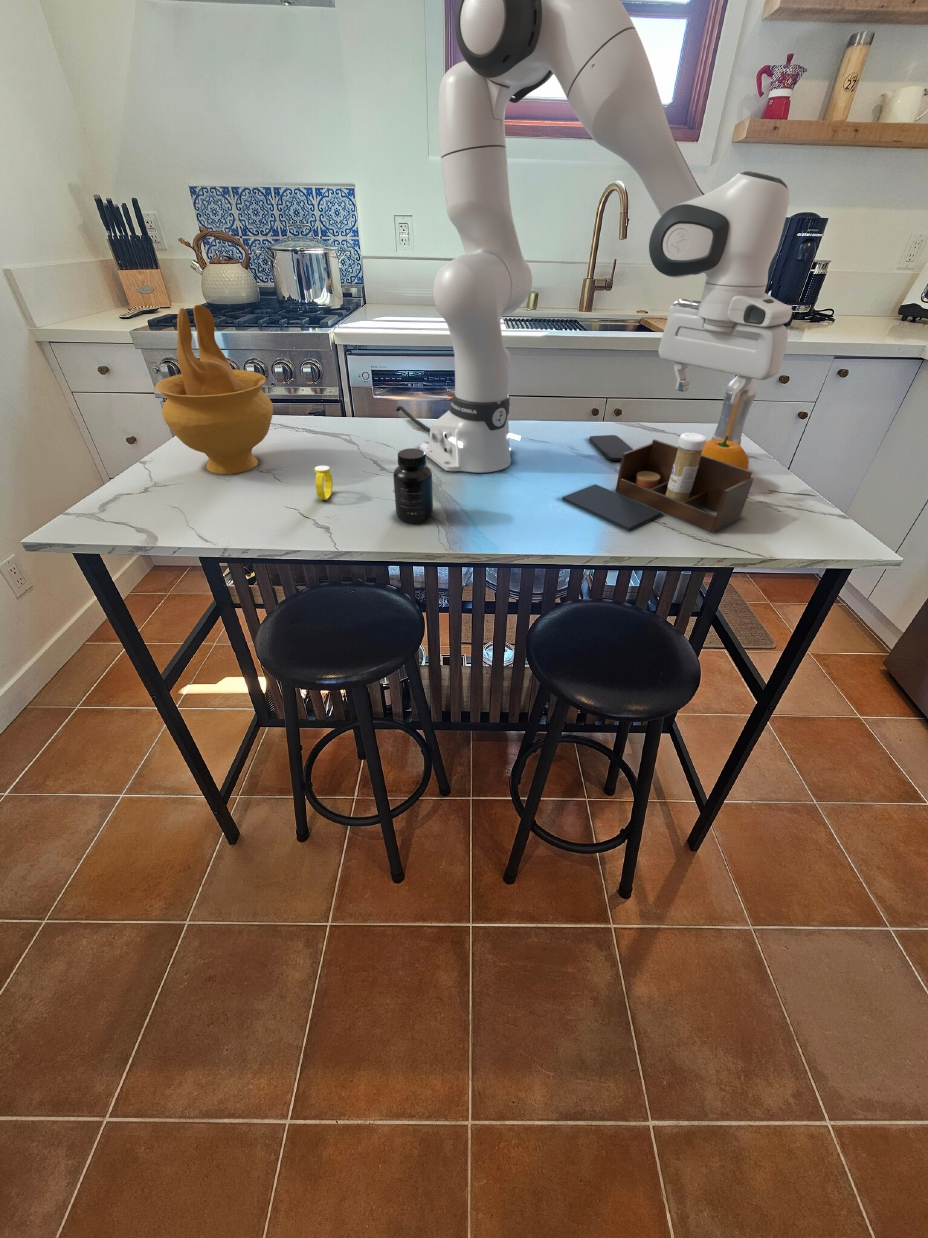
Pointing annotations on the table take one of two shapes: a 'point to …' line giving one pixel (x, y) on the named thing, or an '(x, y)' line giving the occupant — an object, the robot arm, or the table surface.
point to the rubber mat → (612, 507)
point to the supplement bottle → (413, 487)
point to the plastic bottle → (735, 412)
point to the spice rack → (711, 489)
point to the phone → (610, 446)
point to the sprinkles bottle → (685, 465)
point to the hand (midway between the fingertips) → (705, 396)
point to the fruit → (726, 452)
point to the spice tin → (647, 479)
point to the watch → (321, 473)
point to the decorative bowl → (214, 400)
